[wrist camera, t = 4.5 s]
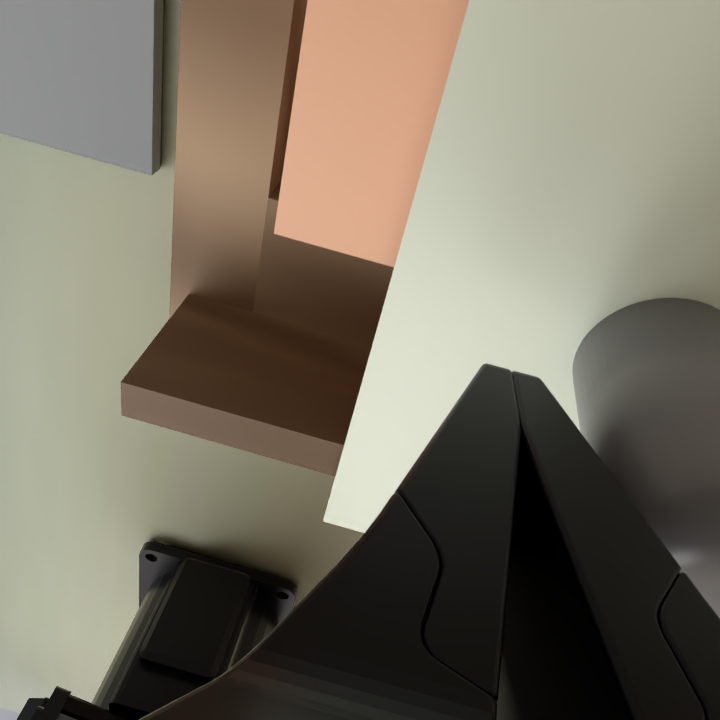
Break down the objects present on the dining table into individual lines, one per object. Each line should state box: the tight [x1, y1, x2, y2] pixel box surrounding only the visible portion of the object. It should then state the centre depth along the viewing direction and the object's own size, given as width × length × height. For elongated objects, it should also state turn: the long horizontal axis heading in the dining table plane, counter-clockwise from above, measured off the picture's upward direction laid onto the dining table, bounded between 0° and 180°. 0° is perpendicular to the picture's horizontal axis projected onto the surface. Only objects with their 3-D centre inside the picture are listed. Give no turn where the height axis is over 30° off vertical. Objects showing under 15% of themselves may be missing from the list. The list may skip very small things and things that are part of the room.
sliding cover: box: [323, 0, 720, 618], centre depth 9 cm, size 12×9×5 cm
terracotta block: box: [274, 0, 469, 267], centre depth 12 cm, size 4×4×5 cm
